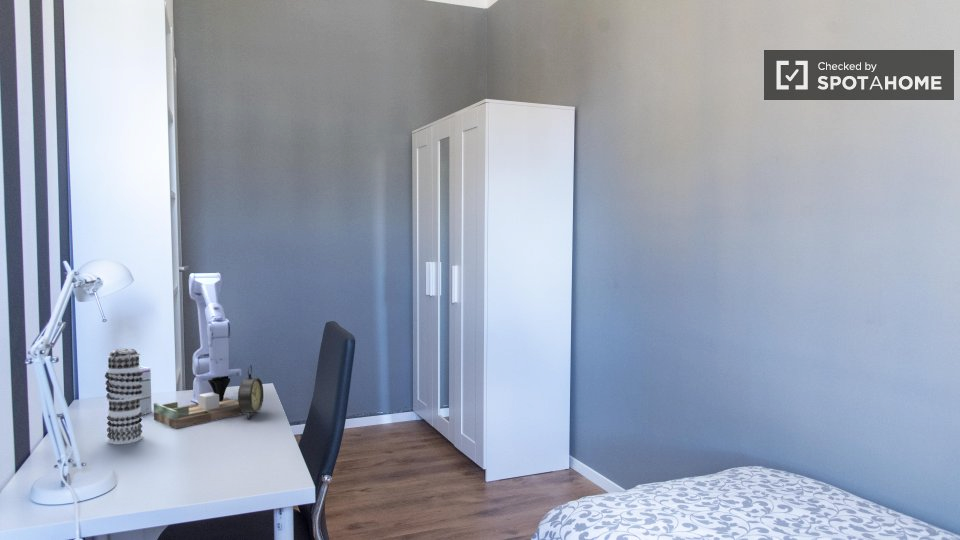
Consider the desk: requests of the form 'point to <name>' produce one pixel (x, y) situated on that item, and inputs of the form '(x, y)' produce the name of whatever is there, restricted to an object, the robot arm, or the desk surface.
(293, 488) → the desk surface
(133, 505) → the desk surface
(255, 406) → the alarm clock
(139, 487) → the desk surface
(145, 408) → the syrup box
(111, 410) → the decorative candle
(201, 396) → the white block
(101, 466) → the desk surface
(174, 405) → the trap board
